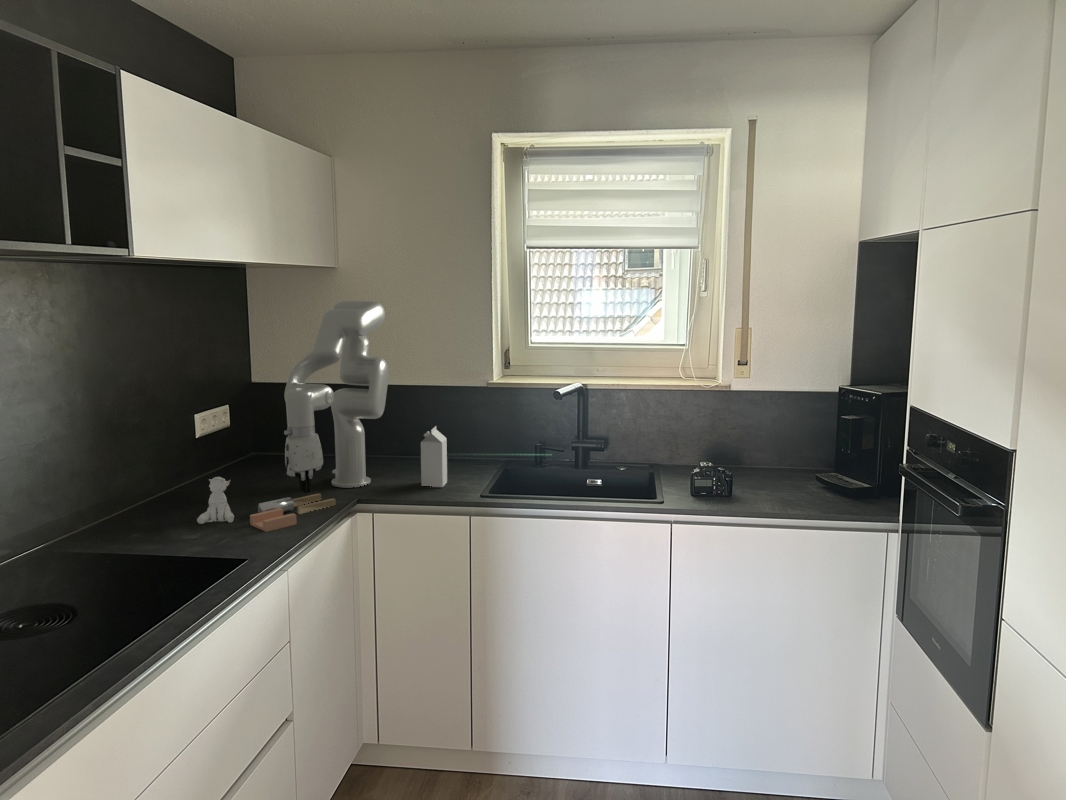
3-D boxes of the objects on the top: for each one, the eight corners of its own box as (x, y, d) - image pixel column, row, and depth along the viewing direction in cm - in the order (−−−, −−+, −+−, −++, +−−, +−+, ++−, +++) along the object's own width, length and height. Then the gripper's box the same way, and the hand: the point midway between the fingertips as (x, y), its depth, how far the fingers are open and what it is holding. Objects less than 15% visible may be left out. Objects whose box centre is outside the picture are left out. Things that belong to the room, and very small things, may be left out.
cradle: (250, 525, 210) (249, 515, 209) (280, 517, 216) (280, 508, 216) (266, 531, 204) (265, 521, 204) (296, 524, 211) (296, 514, 210)
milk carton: (447, 482, 256) (446, 426, 254) (442, 487, 249) (442, 430, 247) (426, 481, 257) (425, 425, 254) (421, 487, 250) (420, 429, 247)
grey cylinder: (265, 514, 216) (261, 501, 217) (260, 519, 218) (256, 506, 219) (295, 507, 222) (290, 495, 223) (289, 512, 225) (285, 500, 226)
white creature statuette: (196, 524, 210) (194, 482, 208) (203, 515, 218) (200, 474, 217) (233, 522, 212) (231, 480, 210) (238, 513, 220) (236, 473, 219)
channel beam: (283, 507, 226) (282, 501, 226) (319, 499, 235) (318, 493, 234) (299, 514, 220) (299, 507, 220) (335, 505, 229) (335, 499, 228)
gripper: (284, 438, 215) (289, 500, 219) (331, 428, 226) (334, 488, 229) (271, 433, 220) (275, 495, 224) (317, 424, 231) (321, 483, 234)
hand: (305, 491), depth 227 cm, fingers closed
